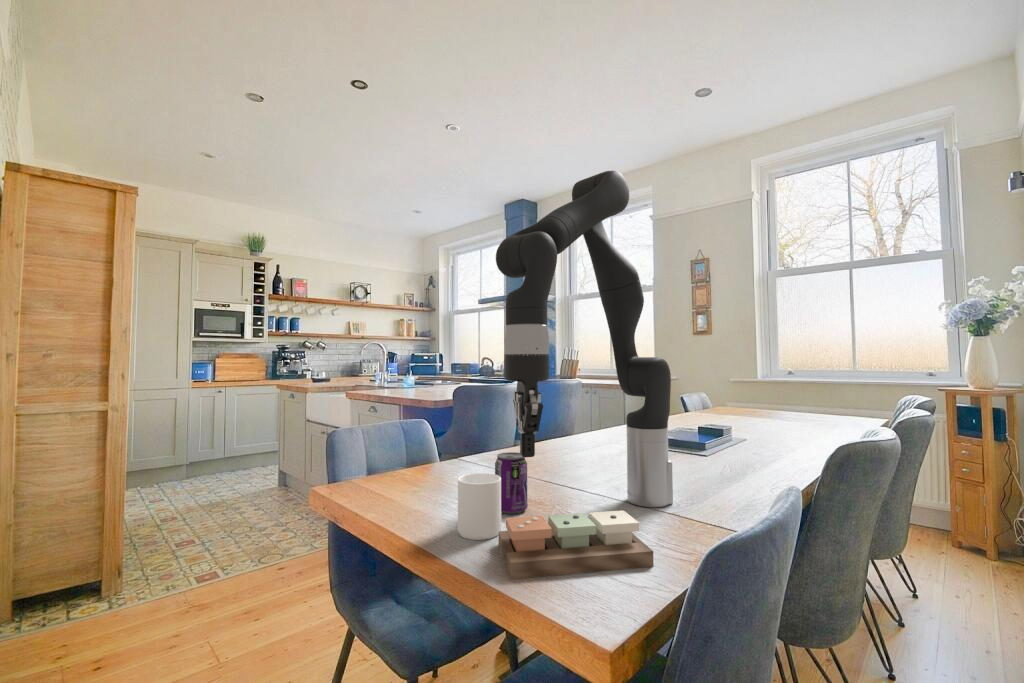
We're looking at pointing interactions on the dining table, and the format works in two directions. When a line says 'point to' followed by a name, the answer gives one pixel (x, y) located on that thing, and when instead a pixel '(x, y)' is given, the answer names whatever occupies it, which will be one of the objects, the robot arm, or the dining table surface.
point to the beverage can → (512, 482)
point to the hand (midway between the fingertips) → (527, 456)
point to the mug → (479, 506)
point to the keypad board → (573, 557)
